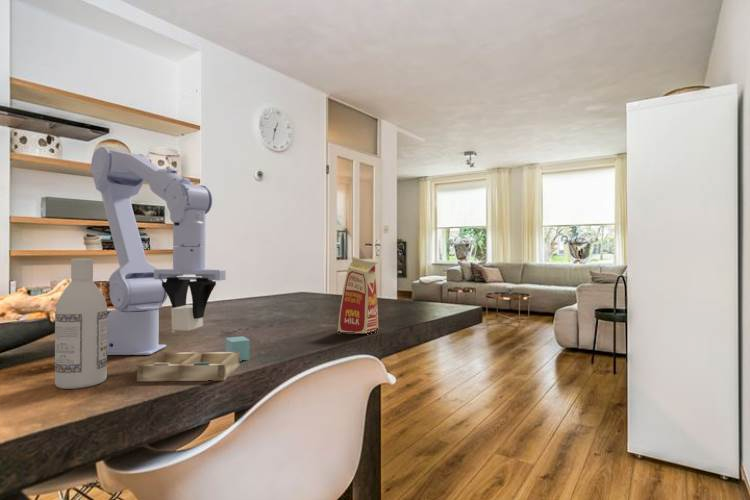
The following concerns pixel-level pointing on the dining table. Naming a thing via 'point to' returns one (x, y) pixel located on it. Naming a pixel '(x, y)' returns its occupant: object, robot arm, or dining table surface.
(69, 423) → the dining table surface
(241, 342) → the teal rectangular block
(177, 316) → the off-white plug
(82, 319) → the bath foam
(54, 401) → the dining table surface
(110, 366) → the dining table surface
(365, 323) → the milk carton
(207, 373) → the slot rack
